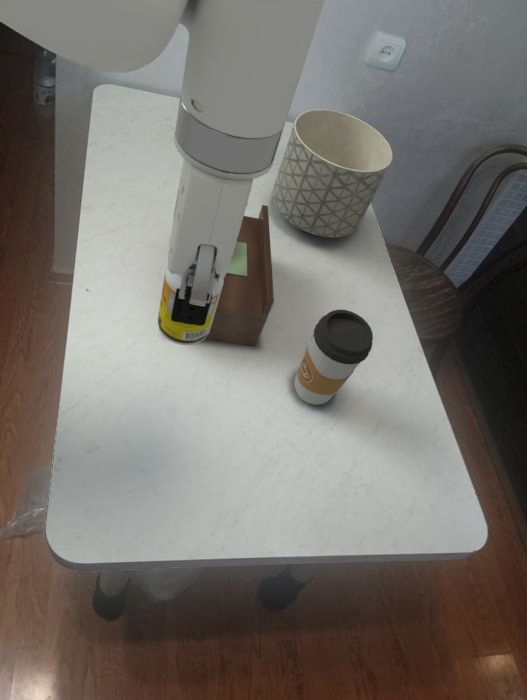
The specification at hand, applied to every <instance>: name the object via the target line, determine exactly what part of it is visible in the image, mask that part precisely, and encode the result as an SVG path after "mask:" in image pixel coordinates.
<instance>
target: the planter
mask: <svg viewBox="0 0 527 700" xmlns="http://www.w3.org/2000/svg"><path fill="white" fill-rule="evenodd" d="M393 154H394V153H393V150H392V147H391V145H390V143H389V142H388V140H387V139H386V138H385V136H384V135H383V134H382V133H380V132H379V131H378V130H377V129H376V128H375V127H373V126H372V125H370V124H368V123H367V122H365V121H364V120H361V119H359V118H357V117H356V116H353V115H351V114H347V113H345V112H341V111H337V110H333V109H325V108H323V109H322V108H320V109H319V108H317V109H316V108H315V109H309V110H306V111H304V112H301V113H300V114H299V115H298V116H297V117H296V118H295V120H294V123H293V126H292V128H291V132H290V134H289V138H288V141H287V144H286V147H285V150H284V152H283V156H282V158H281V159H282V160H281V162H280V165H279V167H278V172H277V174H276V177H275V180H274V184H273V187H272V190H271V200H272V203H273V205H274V207H275V209H276V211H277V212H278V213H279V215H281V217H282V218H283V219H284V220H286V221H287V222H288V223H290V224H291V225H292V226H294V227H295V228H297V229H298V230H301V231H303V232H305V233H308V234H310V235H314V236H317V237H322V238H330V239H331V238H334V239H335V238H343V237H346V236H349V235H351V234H353V233H354V232H355V231H356V230H357V229H358V228H359V227H360V224H361V223H362V221H363V219H364V217H365V214H366V213H367V211H368V209H369V207H370V205H371V203H372V201H373V198H375V195H376V193H377V191H378V189H379V187H380V185H381V184H382V181H383V180H384V177H385V175H386V173H387V172H388V170H389V168H390V166H391V164H392V162H393V157H394V155H393Z"/></svg>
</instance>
